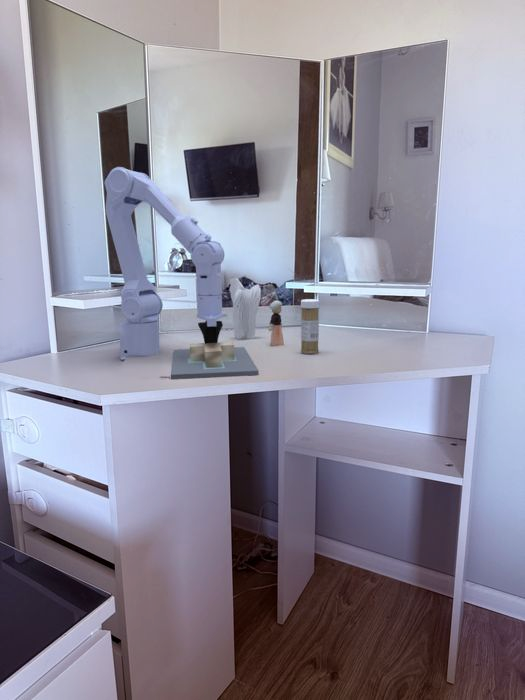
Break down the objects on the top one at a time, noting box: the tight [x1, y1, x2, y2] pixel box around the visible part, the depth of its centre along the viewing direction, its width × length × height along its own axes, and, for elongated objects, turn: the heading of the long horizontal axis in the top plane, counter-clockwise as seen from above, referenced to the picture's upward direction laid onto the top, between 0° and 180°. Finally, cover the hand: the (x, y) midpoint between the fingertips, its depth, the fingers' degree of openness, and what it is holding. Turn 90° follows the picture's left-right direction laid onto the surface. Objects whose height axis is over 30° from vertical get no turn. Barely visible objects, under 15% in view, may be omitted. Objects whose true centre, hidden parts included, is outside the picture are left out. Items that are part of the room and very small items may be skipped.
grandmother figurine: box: [268, 300, 285, 347], centre depth 128 cm, size 8×4×13 cm, turn 168°
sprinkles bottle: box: [300, 298, 320, 355], centre depth 121 cm, size 5×5×14 cm
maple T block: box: [189, 341, 235, 368], centre depth 108 cm, size 10×10×4 cm
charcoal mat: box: [170, 346, 260, 380], centre depth 112 cm, size 18×26×1 cm
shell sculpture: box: [229, 277, 262, 340], centre depth 138 cm, size 8×8×18 cm
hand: (211, 352), depth 115 cm, fingers closed
